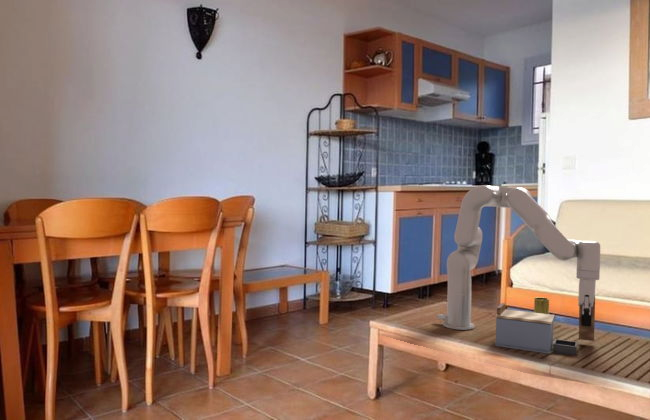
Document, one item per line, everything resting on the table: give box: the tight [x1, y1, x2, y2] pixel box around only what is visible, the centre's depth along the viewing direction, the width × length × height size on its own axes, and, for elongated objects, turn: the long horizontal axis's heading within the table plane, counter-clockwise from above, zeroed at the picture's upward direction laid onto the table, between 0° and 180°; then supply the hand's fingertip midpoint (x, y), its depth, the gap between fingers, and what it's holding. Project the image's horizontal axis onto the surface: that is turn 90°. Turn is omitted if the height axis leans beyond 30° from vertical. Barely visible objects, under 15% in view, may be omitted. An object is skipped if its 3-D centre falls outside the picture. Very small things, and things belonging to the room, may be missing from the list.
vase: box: [533, 296, 550, 314], centre depth 204 cm, size 6×6×14 cm
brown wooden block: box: [578, 296, 596, 342], centre depth 190 cm, size 5×5×16 cm
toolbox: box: [495, 317, 555, 355], centre depth 188 cm, size 18×12×10 cm, turn 62°
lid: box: [494, 302, 556, 324], centre depth 188 cm, size 19×13×3 cm
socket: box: [552, 338, 578, 357], centre depth 181 cm, size 7×7×3 cm
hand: (586, 323), depth 190 cm, fingers closed on brown wooden block, 5 cm apart
